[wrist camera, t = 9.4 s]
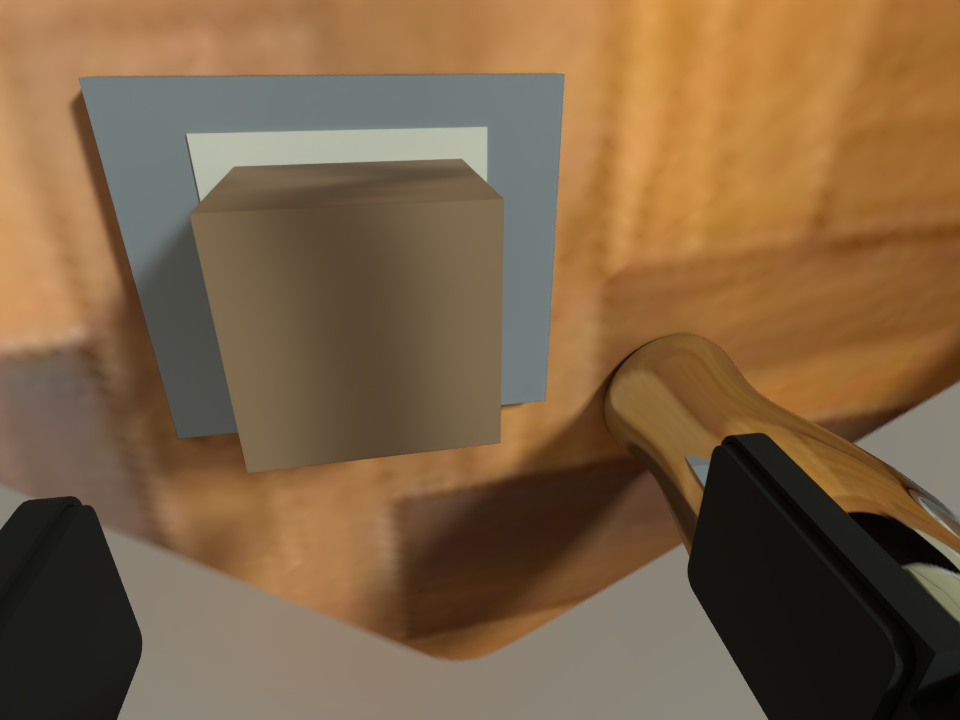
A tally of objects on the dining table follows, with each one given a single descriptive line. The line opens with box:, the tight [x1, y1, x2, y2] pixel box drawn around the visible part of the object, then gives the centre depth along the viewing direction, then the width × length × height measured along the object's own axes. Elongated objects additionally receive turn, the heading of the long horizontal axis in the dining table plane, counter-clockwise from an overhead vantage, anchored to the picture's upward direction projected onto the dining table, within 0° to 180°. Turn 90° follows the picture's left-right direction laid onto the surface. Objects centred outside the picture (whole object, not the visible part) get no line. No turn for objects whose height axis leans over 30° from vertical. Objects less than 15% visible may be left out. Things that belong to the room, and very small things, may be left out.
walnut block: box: [190, 159, 504, 473], centre depth 18 cm, size 7×7×6 cm
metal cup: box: [604, 334, 960, 624], centre depth 20 cm, size 7×7×15 cm
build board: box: [79, 73, 565, 439], centre depth 21 cm, size 14×12×1 cm
